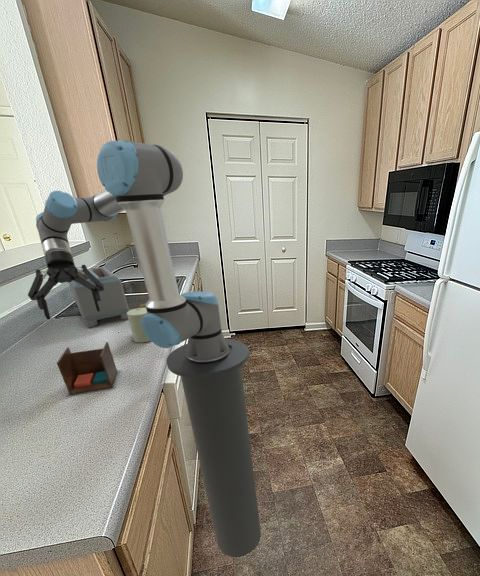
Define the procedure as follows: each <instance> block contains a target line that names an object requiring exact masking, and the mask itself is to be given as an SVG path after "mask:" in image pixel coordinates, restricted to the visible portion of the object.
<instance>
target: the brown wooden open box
mask: <svg viewBox="0 0 480 576" xmlns="http://www.w3.org/2000/svg"><path fill="white" fill-rule="evenodd" d="M56 365H57V367H58V370H59V372H60V374H61V377H62V379H63V383H64V385H65V387H66V390H67V392H68V394H69V396H73V395H78V394H86V393H91V392H97V391H102V390H103V391H104V390H109V389H113V386H114V383H115V380H116V378H117V375H118V369H117V366H116V362H115V360H114V357H113V354H112V351H111V347H110V344H109V342H108V341H106V342H105V344H104V346H103V348H96V349H90V350H89V349H88V350H82V351H81V350H80V351H75V352H71V349H70V347H66V348H65V350H64V351H63V353H62V354H61V355H60V357H59V359H57V361H56ZM102 371H105V373H106V376H107V379H108V382H106V383H100V384H94V383H93V381H92V384H91V385H88V386H82V387H76V388H75V387H74V383H75V381H76V379H77V377H78V375H84V374H90V373H94V375H96V373H97V372H102ZM94 377H95V376H94ZM93 380H94V379H93Z"/></svg>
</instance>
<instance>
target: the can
mask: <svg viewBox="0 0 480 576" xmlns="http://www.w3.org/2000/svg"><path fill="white" fill-rule="evenodd" d="M146 314H148V313H147V310H146V308H139V307H138V308H137V307H136V308H133V309H129V311H128V312H127V316H128V319H127V320H128V322H129V325H130V330H131V333H132V337H133V342H135V343H149V342H152V341H151V340H150V339H149V338H148V337H147V336H146V334H145V333H144V331H143V328H142V323H141V322H142V318H143V317H144V316H145V315H146Z"/></svg>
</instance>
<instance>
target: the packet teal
mask: <svg viewBox="0 0 480 576" xmlns="http://www.w3.org/2000/svg"><path fill="white" fill-rule="evenodd" d="M106 382H108V379H107V376H106V373H105V371H102V372H97V373H96V375H95V377H94V380H93V383H94V384H100V383H106Z"/></svg>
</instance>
